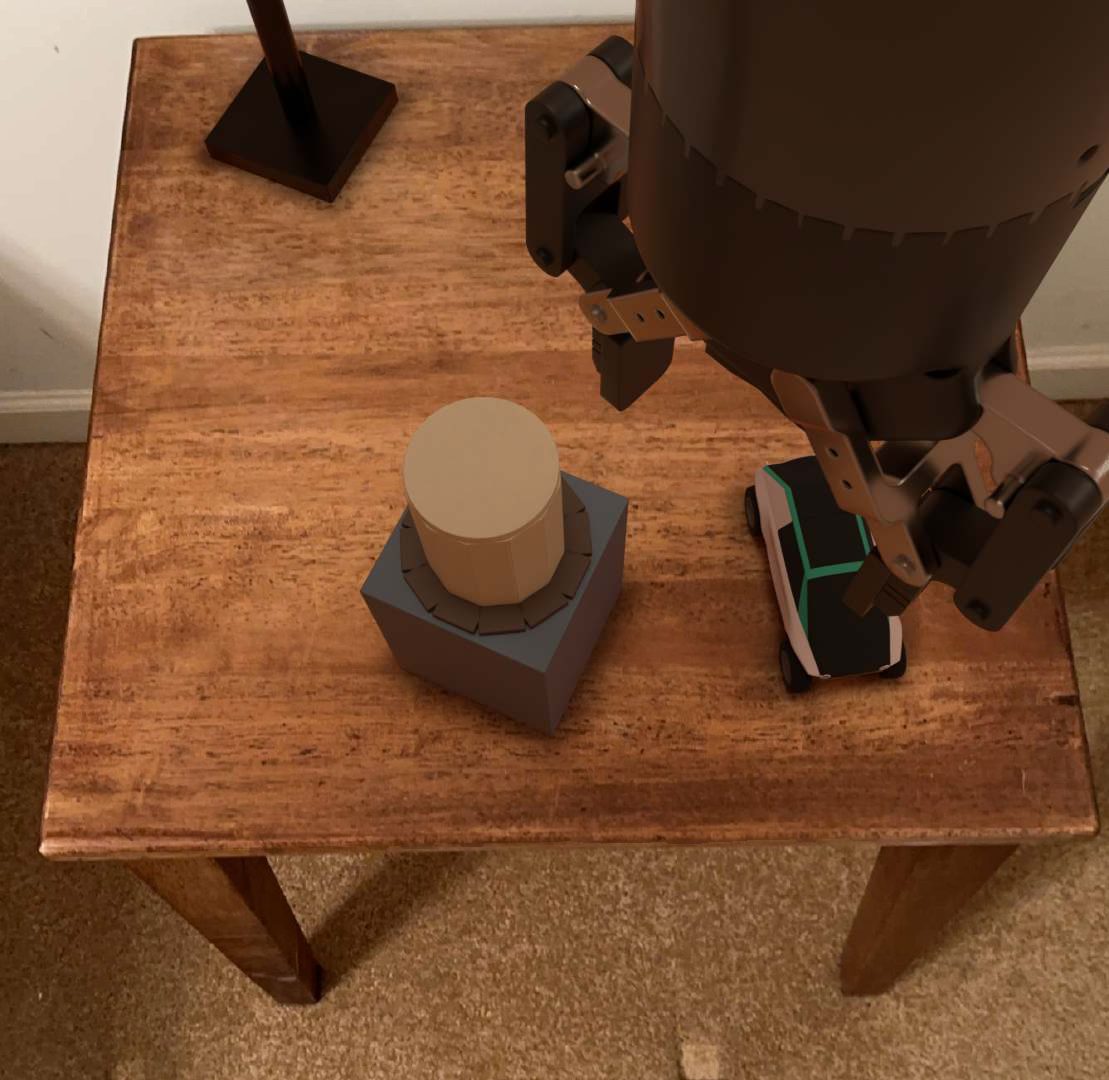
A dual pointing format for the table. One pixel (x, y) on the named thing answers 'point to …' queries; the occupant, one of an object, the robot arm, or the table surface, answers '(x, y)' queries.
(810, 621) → the toy car
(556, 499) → the hat
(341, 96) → the hat stand
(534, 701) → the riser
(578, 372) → the table surface
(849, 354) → the robot arm
